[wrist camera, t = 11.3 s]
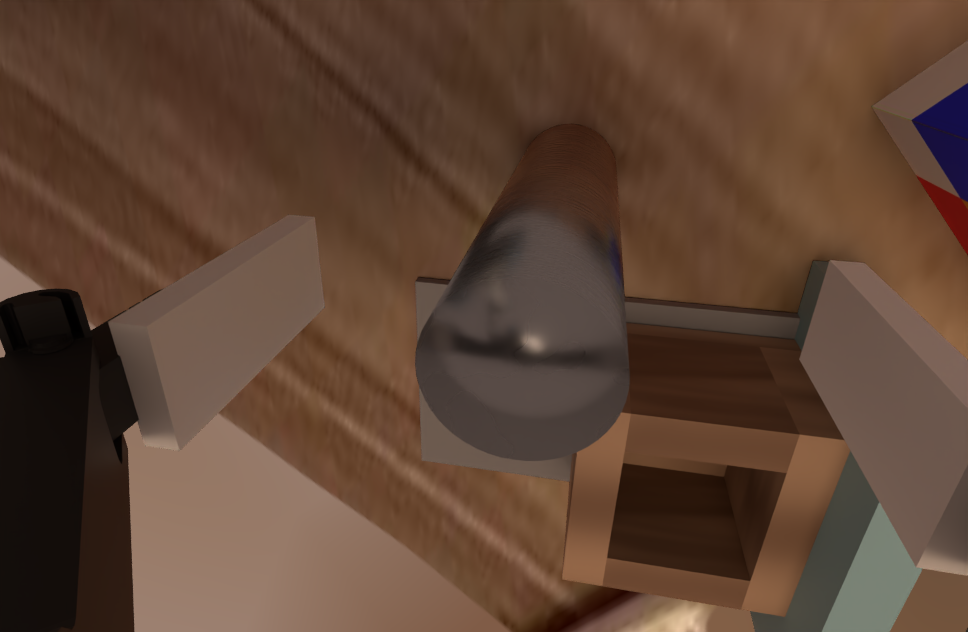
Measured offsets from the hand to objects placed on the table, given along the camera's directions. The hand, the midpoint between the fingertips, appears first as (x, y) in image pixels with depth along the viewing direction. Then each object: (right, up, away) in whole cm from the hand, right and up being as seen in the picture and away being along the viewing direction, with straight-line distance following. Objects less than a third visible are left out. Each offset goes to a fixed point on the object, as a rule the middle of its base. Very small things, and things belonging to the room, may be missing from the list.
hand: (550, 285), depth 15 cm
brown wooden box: (+7, -5, +13) cm, 16 cm away
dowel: (+2, +5, +9) cm, 11 cm away
